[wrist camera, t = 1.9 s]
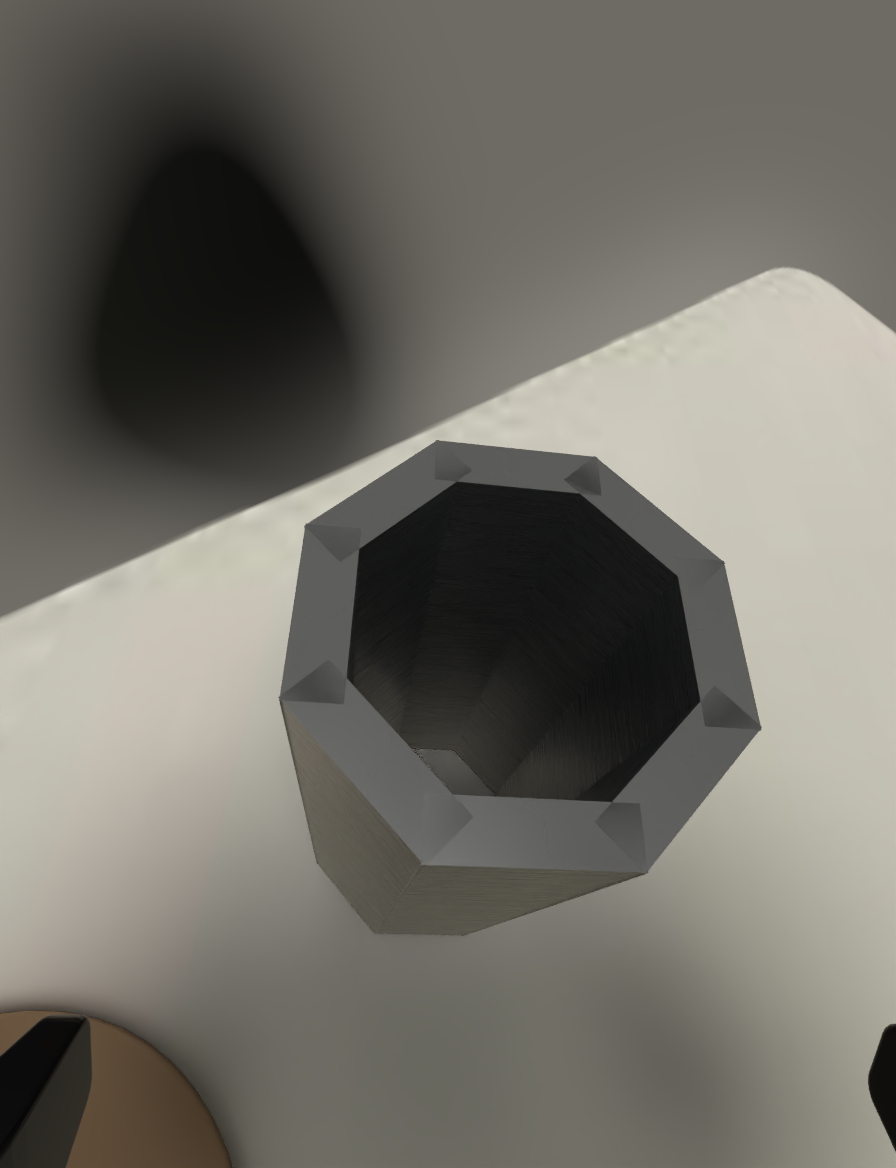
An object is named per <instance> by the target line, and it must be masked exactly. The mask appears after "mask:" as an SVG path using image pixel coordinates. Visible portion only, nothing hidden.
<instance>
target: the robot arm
mask: <svg viewBox="0 0 896 1168" xmlns="http://www.w3.org/2000/svg"><path fill="white" fill-rule="evenodd" d="M91 1083H92V1052H91V1027H90V1021H89V1019H88V1017H87V1016H85V1015H82V1014H52V1015H48V1016H46V1017H44V1018H42V1019H41V1020H39V1021H38V1022H37V1023H36V1024H35V1025H33V1026H32V1027H31V1028H30V1029H29V1030H28V1031H27V1032H26V1033H25V1034H23V1035H22V1036H21V1037H20V1038H19V1039H18V1040H17V1041H16V1042H15V1043H13V1044H12V1045H11V1046H10V1047H9V1048H8V1049H7V1050H6V1051H4V1052H3V1053H2V1054H1V1055H0V1168H66V1165H67V1162H68V1159H69V1156H70V1153H71V1150H72V1147H73V1144H74V1141H75V1138H76V1135H77V1132H78V1129H79V1126H80V1123H81V1120H82V1117H83V1113H84V1110H85V1107H86V1104H87V1101H88V1097H89V1093H90V1089H91ZM868 1085H869V1091H870V1095H871V1098H872V1101H873V1103H874V1106H875V1108H876V1110H877V1112H878V1114H879V1116H880V1119H881V1121H882V1123H883V1125H884V1127H885V1129H886V1132H887V1134H888V1136H889V1138H890V1140H891V1143H892V1145H893V1147H894V1149H895V1151H896V1024H890V1025H889V1026H887V1027H886V1028H885V1029H884V1031H883V1033H882V1036H881V1039H880V1042H879V1045H878V1048H877V1051H876V1054H875V1057H874V1060H873V1063H872V1065H871V1068H870V1071H869V1075H868Z"/></svg>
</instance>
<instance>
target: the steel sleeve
mask: <svg viewBox="0 0 896 1168" xmlns="http://www.w3.org/2000/svg"><path fill="white" fill-rule="evenodd" d="M304 528H305V532H304V539H303V546H302V552H301V559H300V566H299V572H298V579H297V586H296V593H295V599H294V606H293V613H292V619H291V626H290V633H289V639H288V646H287V653H286V660H285V666H284V673H283V680H282V686H281V693H280V696H279V701H280V705H281V710H282V714H283V718H284V723H285V727H286V731H287V736H288V740H289V744H290V749H291V753H292V757H293V762H294V766H295V770H296V775H297V779H298V783H299V788H300V792H301V796H302V801H303V805H304V809H305V814H306V818H307V822H308V827H309V831H310V835H311V840H312V844H313V848H314V853H315V857H316V861H317V864H319V866H320V867H321V868H322V869H323V871H324V872H325V873H326V874H327V876H328V877H329V878H330V879H331V880H332V882H333V883H334V884H335V885H336V887H337V888H338V889H339V890H340V892H341V893H342V894H343V895H344V897H345V898H346V899H347V900H348V901H349V903H350V904H351V905H352V906H353V908H354V909H355V910H356V911H357V913H358V914H359V915H360V916H361V918H362V919H363V920H364V921H365V922H366V924H367V925H368V926H369V927H370V929H371V930H372V931H373V933H374V934H375V933H387V934H426V935H462V936H464V935H467V934H470V933H473V932H476V931H479V930H482V929H485V928H488V927H490V926H493V925H496V924H499V923H502V922H505V921H508V920H511V919H514V918H517V917H520V916H523V915H526V914H529V913H532V912H535V911H538V910H541V909H544V908H547V907H550V906H553V905H556V904H559V903H561V902H564V901H567V900H570V899H573V898H576V897H579V896H582V895H585V894H588V893H591V892H594V891H597V890H600V889H603V888H606V887H609V886H612V885H615V884H618V883H621V882H624V881H627V880H630V879H632V878H635V877H638V876H641V875H644V874H646V873H648V870H649V869H650V867H651V866H652V865H653V864H654V862H655V861H656V860H657V859H658V857H659V856H660V855H661V854H662V852H663V851H664V850H665V849H666V847H667V846H668V845H669V844H670V842H671V841H672V840H673V838H674V837H675V836H676V835H677V833H678V832H679V831H680V830H681V828H682V827H683V826H684V825H685V823H686V822H687V821H688V820H689V818H690V817H691V816H692V815H693V813H694V812H695V811H696V809H697V808H698V807H699V806H700V804H701V803H702V802H703V801H704V799H705V798H706V797H707V796H708V794H709V793H710V792H711V791H712V789H713V788H714V787H715V786H716V784H717V783H718V782H719V780H720V779H721V778H722V777H723V775H724V774H725V773H726V772H727V770H728V769H729V768H730V767H731V765H732V764H733V763H734V762H735V760H736V759H737V758H738V757H739V755H740V754H741V753H742V751H743V750H744V749H745V748H746V746H747V745H748V744H749V743H750V741H751V740H752V739H753V738H754V736H755V735H756V734H757V733H758V732H759V731H760V730H761V728H762V727H761V726H760V721H759V717H758V712H757V708H756V703H755V699H754V695H753V690H752V686H751V681H750V677H749V672H748V668H747V663H746V659H745V654H744V650H743V645H742V641H741V636H740V632H739V628H738V623H737V619H736V614H735V610H734V605H733V601H732V596H731V592H730V587H729V583H728V578H727V574H726V569H725V565H724V564H725V563H724V561H722V560H721V559H719V558H718V557H717V556H716V555H714V554H713V553H712V552H711V551H710V550H708V549H707V548H706V547H705V546H703V545H702V544H701V543H700V542H699V541H697V540H696V539H695V538H694V537H692V536H691V535H690V534H689V533H688V532H686V531H685V530H684V529H683V528H681V527H680V526H679V525H678V524H677V523H675V522H674V521H673V520H672V519H671V518H669V517H668V516H667V515H666V514H664V513H663V512H662V511H661V510H660V509H658V508H657V507H656V506H655V505H653V504H652V503H651V502H650V501H649V500H647V499H646V498H645V497H644V496H642V495H641V494H640V493H639V492H638V491H636V490H635V489H634V488H633V487H631V486H630V485H629V484H628V483H627V482H625V481H624V480H623V479H622V478H620V477H619V476H618V475H617V474H616V473H614V472H613V471H612V470H611V469H609V468H608V467H607V466H606V465H605V464H603V463H602V462H601V461H600V460H599V459H597V457H595V456H594V457H590V456H581V455H571V454H562V453H552V452H543V451H533V450H523V449H514V448H504V447H495V446H485V445H475V444H466V443H456V442H447V441H439V440H436V441H435V442H434V443H432V444H431V445H429V446H428V447H426V448H425V449H423V450H422V451H420V452H418V453H417V454H415V455H414V456H412V457H411V458H409V459H408V460H406V461H404V462H403V463H401V464H400V465H398V466H397V467H395V468H394V469H392V470H390V471H389V472H387V473H386V474H384V475H383V476H381V477H380V478H378V479H376V480H375V481H373V482H372V483H370V484H369V485H367V486H366V487H364V488H362V489H361V490H359V491H358V492H356V493H355V494H353V495H352V496H350V497H348V498H347V499H345V500H344V501H342V502H341V503H339V504H338V505H336V506H334V507H333V508H331V509H330V510H328V511H327V512H325V513H323V514H322V515H320V516H319V517H317V518H316V519H314V520H313V521H311V522H309V523H308V524H306V525H305V526H304ZM411 748H423V749H441V750H454V751H455V752H456V753H457V754H458V755H459V756H460V757H461V758H462V759H463V760H464V761H465V762H466V763H467V765H468V766H469V767H470V768H471V769H472V770H473V771H474V772H475V773H476V774H477V775H478V776H479V777H480V778H481V779H482V781H483V782H484V783H485V784H486V785H487V786H488V787H489V788H490V789H491V790H492V791H493V792H494V793H495V796H474V795H453V794H452V793H451V792H450V790H449V789H448V788H447V787H446V786H445V785H444V784H443V783H442V782H441V781H440V780H439V778H438V777H437V776H436V775H435V774H434V773H433V772H432V771H431V770H430V769H429V768H428V766H427V765H426V764H425V763H424V762H423V761H422V760H421V759H420V758H419V757H418V756H417V754H416V753H415V752H414V751H413V750H412V749H411Z"/></svg>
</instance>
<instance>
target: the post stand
mask: <svg viewBox="0 0 896 1168" xmlns="http://www.w3.org/2000/svg"><path fill="white" fill-rule="evenodd" d="M52 1014H74V1013H70V1012H61V1011H40V1010H30V1011H20V1012H10V1013H0V1055H1V1054H2V1053H3V1052H4V1051H6V1050H7V1049H8V1048H9V1047H10V1046H11V1045H12V1044H13V1043H15V1042H16V1041H17V1040H18V1039H19V1038H20V1037H21V1036H22V1035H23V1034H25V1033H26V1032H27V1031H28V1030H29V1029H30V1028H31V1027H32V1026H33V1025H35V1024H36V1023H37V1022H38V1021H39V1020H41V1019H42V1018H44V1017H46V1016H48V1015H52ZM87 1017H88V1019H89V1021H90V1027H91V1052H92V1083H91V1089H90V1093H89V1097H88V1101H87V1104H86V1107H85V1110H84V1113H83V1117H82V1120H81V1123H80V1126H79V1129H78V1132H77V1135H76V1138H75V1141H74V1144H73V1147H72V1150H71V1153H70V1156H69V1159H68V1162H67V1165H66V1168H232V1165H231V1161H230V1158H229V1154H228V1151H227V1149H226V1146H225V1144H224V1142H223V1140H222V1137H221V1135H220V1133H219V1130H218V1128H217V1126H216V1123H215V1121H214V1119H213V1117H212V1115H211V1114H210V1112H209V1110H208V1109H207V1107H206V1106H205V1104H204V1102H203V1101H202V1099H201V1097H200V1096H199V1094H198V1093H197V1091H196V1089H195V1088H194V1087H193V1086H192V1085H191V1083H190V1082H189V1081H188V1080H187V1079H186V1077H185V1076H184V1075H183V1074H182V1073H181V1072H180V1070H179V1069H178V1068H177V1067H176V1066H175V1065H174V1064H173V1063H172V1062H171V1061H170V1060H169V1059H167V1058H166V1057H165V1056H164V1055H163V1054H162V1053H160V1052H159V1051H158V1050H157V1049H156V1048H154V1047H153V1046H152V1045H151V1044H149V1043H148V1042H146V1041H144V1040H143V1039H141V1038H139V1037H137V1036H136V1035H134V1034H132V1033H131V1032H129V1031H127V1030H126V1029H124V1028H121V1027H118V1026H116V1025H113V1024H111V1023H108V1022H105V1021H103V1020H100V1019H98V1018H94V1017H89V1016H87Z"/></svg>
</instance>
